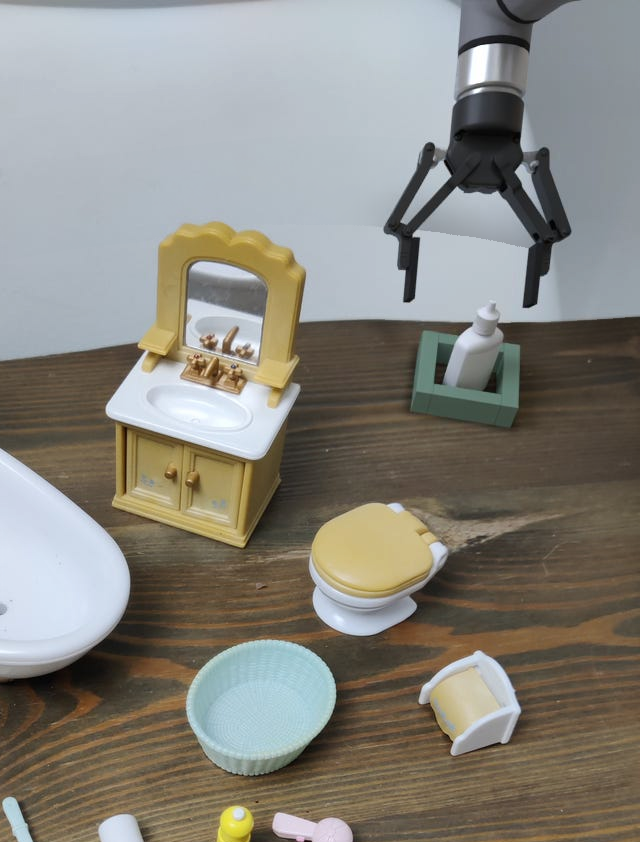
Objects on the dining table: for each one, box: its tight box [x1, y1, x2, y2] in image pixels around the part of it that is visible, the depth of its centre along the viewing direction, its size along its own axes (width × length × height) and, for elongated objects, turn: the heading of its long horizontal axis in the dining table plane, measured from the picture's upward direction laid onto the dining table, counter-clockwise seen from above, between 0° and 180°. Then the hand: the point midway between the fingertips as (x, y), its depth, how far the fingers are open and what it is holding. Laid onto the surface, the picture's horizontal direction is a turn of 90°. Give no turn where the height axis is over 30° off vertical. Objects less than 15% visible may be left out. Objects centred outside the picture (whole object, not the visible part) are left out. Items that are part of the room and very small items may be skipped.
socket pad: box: [409, 329, 521, 429], centre depth 111 cm, size 11×11×4 cm
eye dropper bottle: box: [441, 299, 504, 392], centre depth 107 cm, size 4×6×12 cm
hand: (469, 303), depth 111 cm, fingers open, 13 cm apart
